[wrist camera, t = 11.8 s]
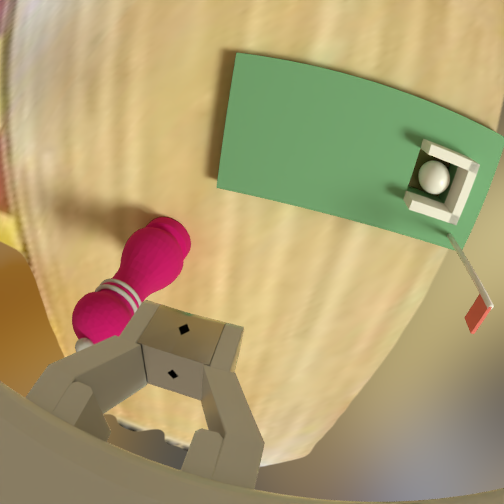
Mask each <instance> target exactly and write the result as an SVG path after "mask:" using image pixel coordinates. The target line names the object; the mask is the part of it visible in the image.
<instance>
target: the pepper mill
mask: <svg viewBox="0 0 504 504" xmlns="http://www.w3.org/2000/svg"><path fill="white" fill-rule="evenodd" d="M190 247H191V241H190V236H189V234H188V232H187V230H186V229H185V228H184V227H183V226H182V225H181V224H180V223H179V222H177V221H176V220H173V219H171V218H168V217H159V218H156V219H154V220H152V221H151V222H150V223H149V224H148V225H147V226H146V227H145V228H142V229H139V230H137V231H136V232H134V233H133V234H132V235H131V237H130V238H129V239H128V241H127V242H126V244H125V247H124V249H123V252H122V257H121V264H120V268H119V270H118V271H117V273H116V274H115V275H114V277H113V278H111V279H106V280H104V281H103V282H102V283H101V284H100V286H99V287H97V288H96V290H95V292H91V293H88V294H86V295H85V296H83V297H82V298H81V299H80V300H79V301H78V303H77V304H76V306H75V308H74V311H73V315H72V324H73V329H74V332H75V334H76V336H77V337H78V339H79V340H78V341H77V342H76V345H75V349H76V352H79V351H81V350H83V349H85V348H87V347H90V346H92V345H94V344H96V343H99V342H101V341H103V340H105V339H107V338H110V337H112V336H114V335H115V336H118V337H119V336H120V334H121V333H122V331H123V330H124V328H125V327H126V325H127V324H128V322H129V321H130V320H131V318H132V317H133V315H134V314H135V312H136V311H137V309H138V308H139V306H140V305H141V303H142V302H143V301H144V300H145V298H146V297H147V296H149V295H150V294H152V293H154V292H156V291H158V290H161V289H163V288H165V287H166V286H168V285H169V284H171V283H172V282H173V281H174V280H175V279H176V278H177V276H178V275H179V274H180V272H181V270H182V267H183V260H184V259H185V257H186V256H187V254H188V253H189V251H190Z"/></svg>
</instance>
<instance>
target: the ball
mask: <svg viewBox="0 0 504 504" xmlns="http://www.w3.org/2000/svg"><path fill="white" fill-rule="evenodd" d="M418 177H419V182H420V185H421V186H422V188H423V189H424V190H425V191H427V192H428V193H431V194H440V193H442V192H444V191H445V190H446V189H447V187H448V185H449V183H450V174H449V171H448V169H447V168H446V166H445V165H444V164H442V163H441V162H439V161H434V160H432V161H428V162H426V163H424V164H423V165H422V166H421V168H420V170H419V175H418Z"/></svg>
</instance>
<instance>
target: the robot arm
mask: <svg viewBox="0 0 504 504" xmlns="http://www.w3.org/2000/svg"><path fill="white" fill-rule="evenodd" d="M243 332H244V327H241V326H237V325H233V324H229V323H226V322H222V321H218V320H214V319H210V318H206V317H202V316H198V315H195V314H190V313H187V312H183V311H180V310H177V309H174V308H171V307H168V306H165V305H161V304H158V303H154V302H151V301H148V300H145V301H144V302H142V303H141V305H140V306H139V308H138V309H137V311H136V312H135V314H134V315H133V317H132V318H131V320H130V321H129V322H128V324H127V325H126V327H125V328H124V330H123V331H122V333H121V334H120V336H119V337H118V336H115V335H114V336H112V337H110V338H107V339H105V340H103V341H101V342H99V343H96V344H94V345H92V346H90V347H87V348H85V349H83V350H81V351H79V352H76V353H74V354H72V355H70V356H67V357H65V358H63V359H61V360H58V361H56V362H54V363H52V364H49V365H48V366H47V368H46V369H45V371H44V372H43V373H42V375H41V376H40V378H39V379H38V380H37V382H36V383H35V385H34V386H33V388H32V389H31V390H30V392H29V393H28V395H27V396H26V398H25V397H23V396H21V395H20V394H18V393H17V392H15V391H14V390H12V389H11V388H10V387H8V386H7V385H5V384H4V383H2V382H1V381H0V504H504V488H501V489H497V490H492V491H488V492H482V493H477V494H471V495H464V496H457V497H449V498H441V499H431V500H418V501H399V502H358V501H336V500H325V499H314V498H305V497H297V496H290V495H283V494H277V493H271V492H265V491H260V490H254V489H255V484H256V480H257V475H258V471H259V466H260V462H261V457H262V452H263V448H264V441H263V438H262V436H261V434H260V431H259V429H258V427H257V424H256V422H255V420H254V417H253V415H252V413H251V410H250V408H249V405H248V403H247V401H246V398H245V396H244V393H243V391H242V388H241V386H240V384H239V381H238V379H237V376H236V374H235V373H234V372H235V369H236V364H237V360H238V356H239V352H240V347H241V342H242V337H243ZM147 383H148V384H152V385H155V386H158V387H161V388H164V389H167V390H171V391H174V392H177V393H180V394H183V395H186V396H189V397H192V398H195V399H198V400H201V403H202V407H203V411H204V414H205V418H206V422H207V425H208V429H209V430H206V429H199V430H197V431H195V434H194V436H193V439H192V442H191V444H190V447H189V450H188V452H187V455H186V457H185V460H184V463H183V466H182V468H181V470H177V469H174V468H171V467H168V466H165V465H163V464H160V463H157V462H154V461H152V460H149V459H146V458H143V457H141V456H138V455H136V454H133V453H131V452H128V451H126V450H124V449H121V448H119V447H117V446H114V445H112V444H110V443H107V440H108V438H109V436H110V433H111V430H110V428H109V426H108V424H107V422H106V420H105V418H104V416H103V414H104V413H105V412H107V411H108V410H110V409H111V408H113V407H114V406H116V405H117V404H119V403H120V402H122V401H124V400H125V399H127V398H128V397H130V396H131V395H133V394H134V393H136V392H137V391H139V390H140V389H142V388H143V387H145V386H146V385H147Z"/></svg>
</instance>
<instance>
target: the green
mask: <svg viewBox="0 0 504 504" xmlns="http://www.w3.org/2000/svg"><path fill="white" fill-rule="evenodd" d="M503 147H504V137H503V136H502V135H500V134H498V133H496V132H494V131H492V130H490V129H488V128H486V127H484V126H482V125H480V124H478V123H476V122H474V121H472V120H470V119H468V118H466V117H464V116H462V115H459V114H457V113H455V112H453V111H450V110H448V109H446V108H444V107H441V106H439V105H436V104H434V103H431V102H429V101H427V100H424V99H421V98H419V97H416V96H414V95H411V94H408V93H405V92H403V91H400V90H397V89H394V88H391V87H388V86H385V85H382V84H379V83H376V82H372V81H369V80H366V79H363V78H359V77H356V76H352V75H348V74H345V73H341V72H337V71H333V70H329V69H325V68H321V67H317V66H312V65H308V64H303V63H298V62H293V61H288V60H283V59H277V58H271V57H265V56H258V55H252V54H244V53H236V59H235V65H234V71H233V77H232V83H231V89H230V95H229V102H228V108H227V115H226V122H225V129H224V136H223V143H222V150H221V157H220V165H219V172H218V180H217V188H220V189H225V190H229V191H234V192H238V193H243V194H247V195H252V196H256V197H261V198H265V199H269V200H273V201H278V202H282V203H286V204H290V205H294V206H298V207H302V208H306V209H310V210H314V211H318V212H322V213H326V214H330V215H334V216H338V217H341V218H345V219H349V220H353V221H356V222H360V223H364V224H367V225H371V226H375V227H378V228H382V229H385V230H389V231H392V232H396V233H399V234H402V235H406V236H409V237H413V238H416V239H419V240H423V241H426V242H429V243H432V244H436V245H439V246H442V247H445V248H448V249H452V250H455V251H456V252H457V254H458V255H459V257H460V259H461V261H462V262H463V264H464V265H465V267H466V269H467V271H468V273H469V274H470V276H471V278H472V280H473V282H474V284H475V285H476V287H477V289H478V291H479V293H480V294H479V296H478V297H477V299H476V300H475V302H474V304H473V306H472V307H471V308H470V310H469V312H468V313H467V315H466V316H465V320H466V323H467V325H468V327H469V330H470V332H471V333H472V334H474V333H475V332H476V330H477V329H478V328H479V326H480V325H481V323H482V321H483V320H484V319H485V317H486V316H487V314H488V313H489V311H490V310H491V309H492V308H493V306H494V305H493V303H492V301H491V299H490V298H489V296H488V294H487V292H486V290H485V288H484V287H483V285H482V283H481V281H480V279H479V278H478V276H477V274H476V273H475V271H474V269H473V268H472V266H471V264H470V263H469V261H468V259H467V258H466V256H465V255H464V253H463V251H462V249H463V247H464V245H465V243H466V241H467V239H468V237H469V235H470V233H471V230H472V228H473V226H474V224H475V221H476V219H477V217H478V215H479V212H480V210H481V207H482V205H483V203H484V200H485V198H486V195H487V193H488V190H489V187H490V185H491V182H492V180H493V177H494V174H495V171H496V169H497V165H498V163H499V160H500V156H501V154H502V151H503ZM420 148H421V149H422V150H423V151H425V152H426V153H427V154H428V155H431V156H433V157H436V158H439V159H441V160H444V161H446V162H449V163H450V166H449V169H448V171H449V174H450V183H449V185H448V187H447V189H446V190H445V191H444V192H442V193H440V194H439V196H435V195H433V194H430V193H427V192H424V191H421V190H418V189H415V188H412V187H409V186H408V185H409V182H410V179H411V176H412V173H413V170H414V167H415V164H416V161H417V157H418V154H419V151H420Z"/></svg>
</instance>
